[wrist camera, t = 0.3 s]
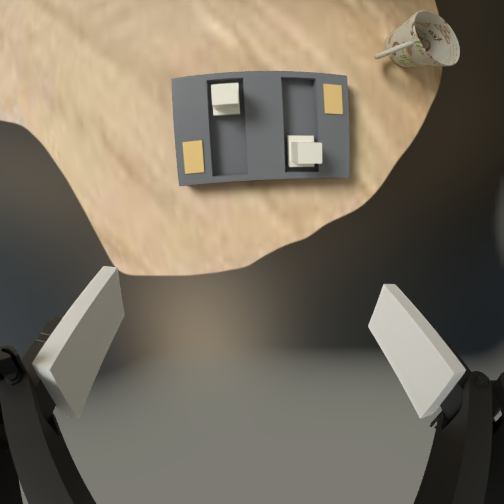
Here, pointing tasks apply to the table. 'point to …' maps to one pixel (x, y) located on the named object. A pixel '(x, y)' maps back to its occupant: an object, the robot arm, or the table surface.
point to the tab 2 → (303, 151)
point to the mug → (422, 42)
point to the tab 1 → (225, 99)
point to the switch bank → (260, 126)
